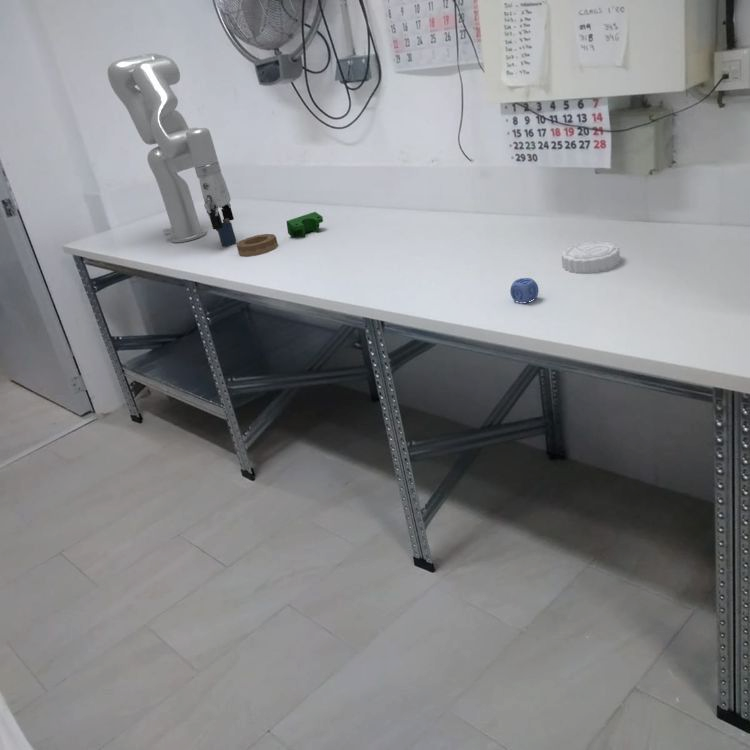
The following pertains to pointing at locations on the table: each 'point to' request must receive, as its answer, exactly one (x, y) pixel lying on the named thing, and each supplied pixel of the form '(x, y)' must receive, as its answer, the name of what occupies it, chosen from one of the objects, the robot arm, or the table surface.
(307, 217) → the clamp
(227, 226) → the vaping device
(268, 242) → the wooden ring
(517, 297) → the decorative dice
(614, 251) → the mooncake
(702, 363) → the table surface
